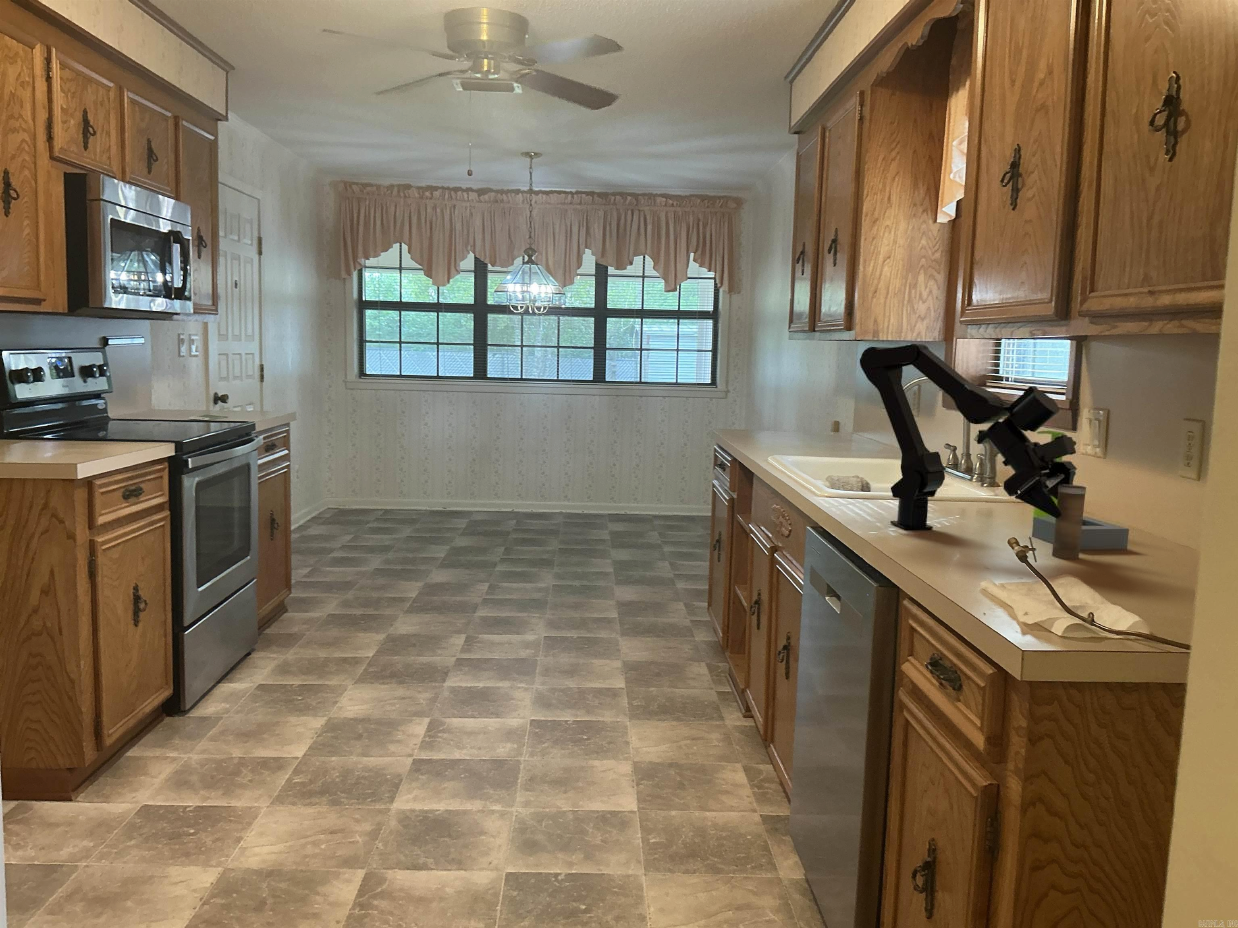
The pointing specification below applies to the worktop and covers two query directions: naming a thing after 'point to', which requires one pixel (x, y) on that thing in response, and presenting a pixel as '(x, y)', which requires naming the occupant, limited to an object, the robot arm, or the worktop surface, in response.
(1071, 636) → the worktop surface
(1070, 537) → the peg
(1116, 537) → the socket block
